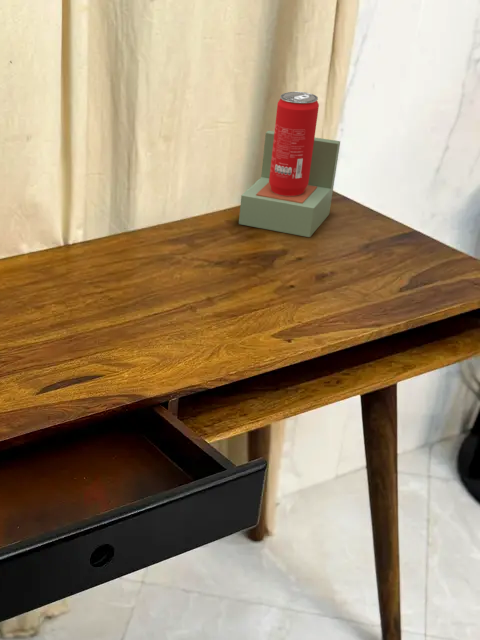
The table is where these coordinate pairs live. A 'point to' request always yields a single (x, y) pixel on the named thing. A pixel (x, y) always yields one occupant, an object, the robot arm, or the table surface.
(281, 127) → the beverage can
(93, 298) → the table surface
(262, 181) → the shelf stand
